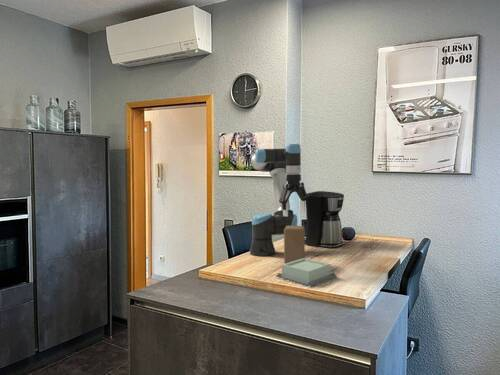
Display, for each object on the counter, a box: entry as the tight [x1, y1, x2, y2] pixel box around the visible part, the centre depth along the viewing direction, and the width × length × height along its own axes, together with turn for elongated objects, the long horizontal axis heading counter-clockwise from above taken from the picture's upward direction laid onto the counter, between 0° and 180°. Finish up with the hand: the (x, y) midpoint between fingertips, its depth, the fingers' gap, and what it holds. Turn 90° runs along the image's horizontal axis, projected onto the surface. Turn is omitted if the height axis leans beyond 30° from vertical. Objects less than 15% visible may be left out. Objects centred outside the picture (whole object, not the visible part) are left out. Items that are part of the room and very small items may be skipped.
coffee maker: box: [305, 190, 345, 249], centre depth 252 cm, size 23×32×34 cm
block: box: [283, 225, 306, 264], centre depth 206 cm, size 10×10×20 cm
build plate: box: [275, 257, 337, 287], centre depth 185 cm, size 20×20×6 cm
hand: (294, 214), depth 205 cm, fingers open, 13 cm apart
